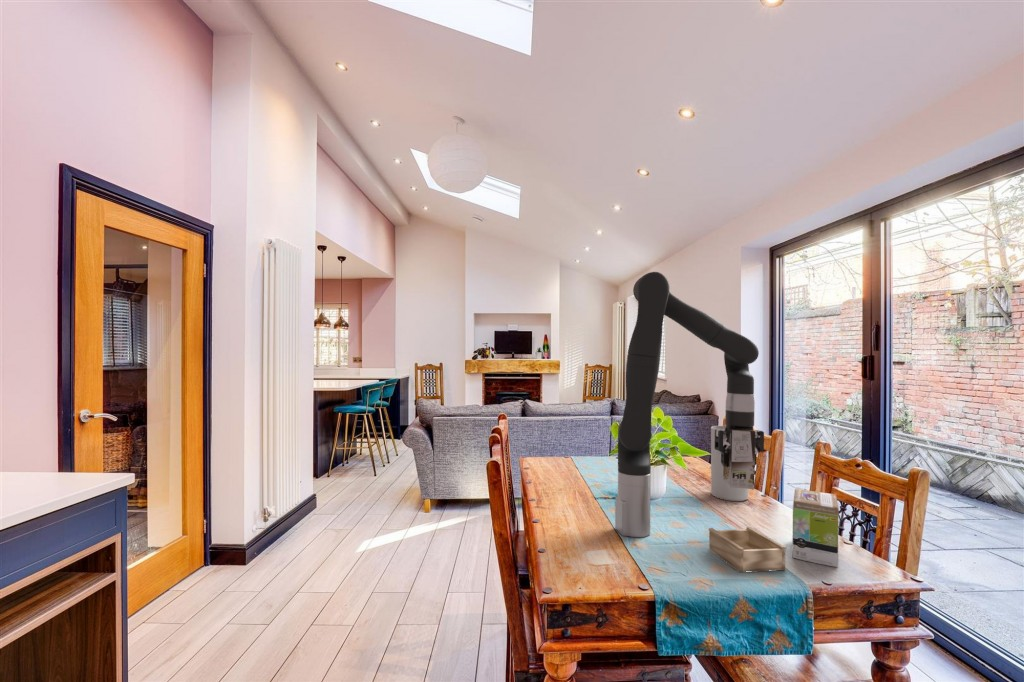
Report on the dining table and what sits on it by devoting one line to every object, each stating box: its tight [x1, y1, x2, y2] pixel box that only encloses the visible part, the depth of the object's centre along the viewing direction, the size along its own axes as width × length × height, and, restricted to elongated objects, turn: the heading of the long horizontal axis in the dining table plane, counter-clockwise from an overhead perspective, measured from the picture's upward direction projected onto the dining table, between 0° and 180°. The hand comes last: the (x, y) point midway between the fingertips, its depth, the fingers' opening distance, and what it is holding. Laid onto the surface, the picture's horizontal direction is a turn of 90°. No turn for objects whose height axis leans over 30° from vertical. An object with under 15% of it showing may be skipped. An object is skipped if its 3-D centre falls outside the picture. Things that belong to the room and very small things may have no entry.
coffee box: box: [723, 425, 756, 490], centre depth 137 cm, size 9×6×16 cm
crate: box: [708, 526, 787, 573], centre depth 121 cm, size 12×14×6 cm
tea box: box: [791, 488, 840, 568], centre depth 125 cm, size 15×10×15 cm, turn 148°
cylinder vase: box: [710, 425, 749, 502], centre depth 176 cm, size 12×12×25 cm
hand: (738, 466), depth 137 cm, fingers closed on coffee box, 7 cm apart
